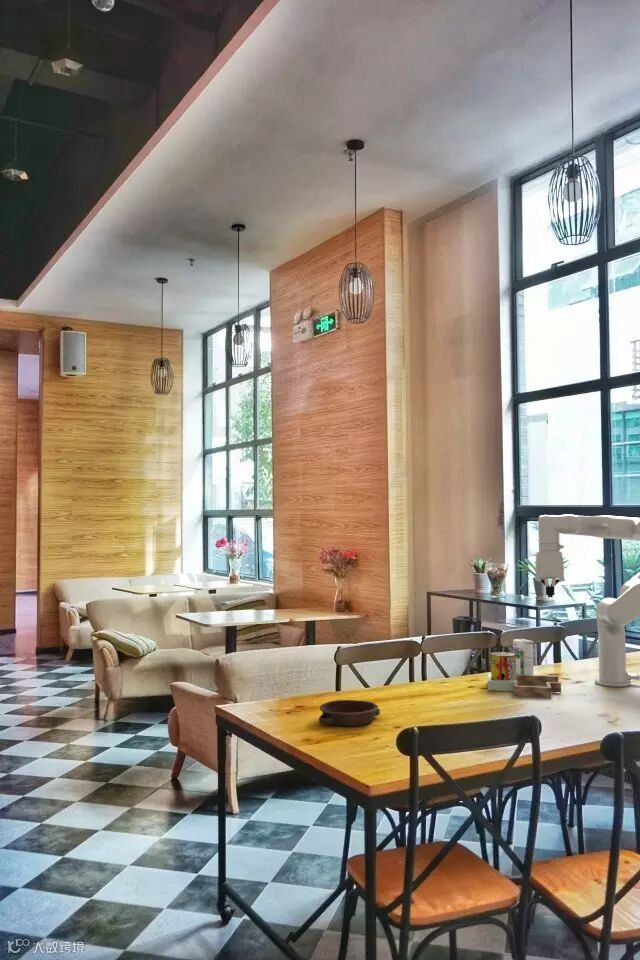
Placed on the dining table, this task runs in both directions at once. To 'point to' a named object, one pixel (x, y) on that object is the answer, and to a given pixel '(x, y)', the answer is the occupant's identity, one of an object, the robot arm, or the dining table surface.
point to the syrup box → (523, 656)
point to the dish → (348, 712)
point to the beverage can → (503, 666)
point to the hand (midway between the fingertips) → (550, 596)
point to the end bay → (500, 684)
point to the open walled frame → (535, 691)
